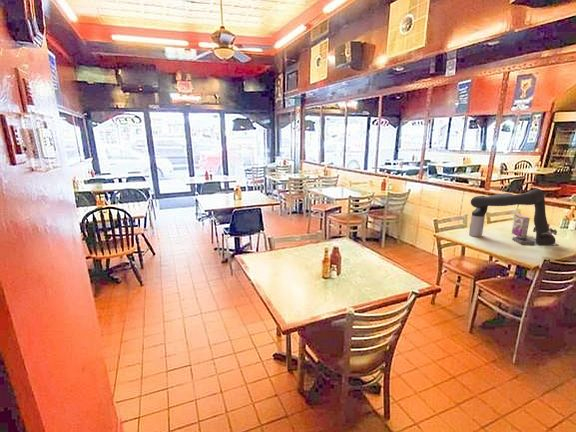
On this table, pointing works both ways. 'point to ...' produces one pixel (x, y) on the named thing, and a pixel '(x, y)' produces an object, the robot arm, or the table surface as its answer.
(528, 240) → the tie collar
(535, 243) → the slate mat
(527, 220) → the candy bar box
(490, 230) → the table surface
